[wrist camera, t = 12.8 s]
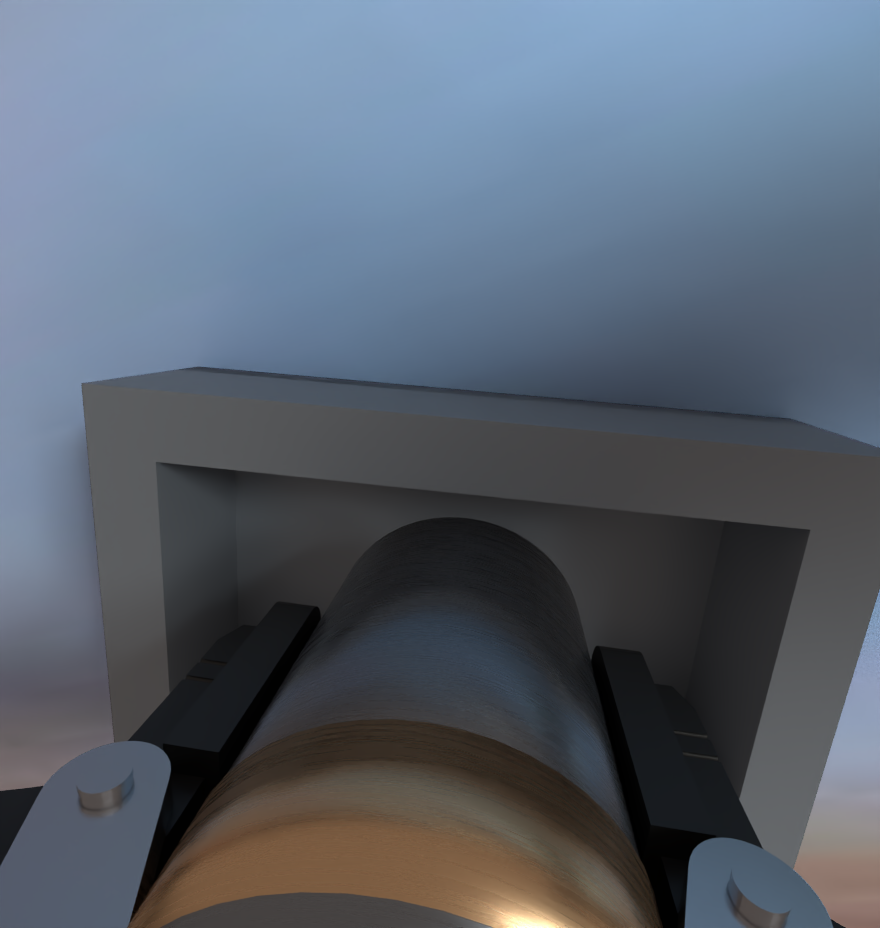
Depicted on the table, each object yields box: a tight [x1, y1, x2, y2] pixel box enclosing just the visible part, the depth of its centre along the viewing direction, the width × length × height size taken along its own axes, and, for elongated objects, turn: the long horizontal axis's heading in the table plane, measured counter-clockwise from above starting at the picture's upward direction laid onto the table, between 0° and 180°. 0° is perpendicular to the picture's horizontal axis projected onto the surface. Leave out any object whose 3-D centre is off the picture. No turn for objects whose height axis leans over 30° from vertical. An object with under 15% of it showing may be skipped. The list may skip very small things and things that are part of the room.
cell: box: [127, 517, 663, 928], centre depth 7 cm, size 5×5×8 cm
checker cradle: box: [81, 367, 880, 869], centre depth 14 cm, size 10×16×4 cm, turn 86°
